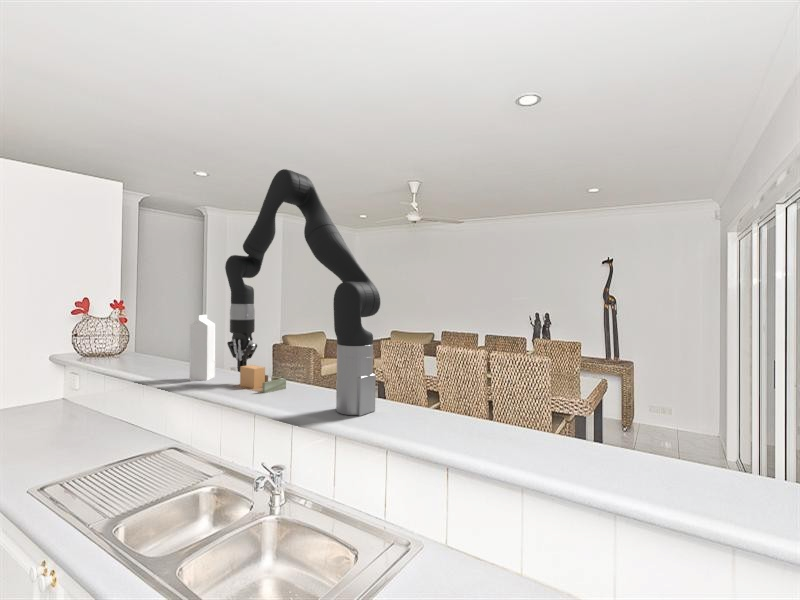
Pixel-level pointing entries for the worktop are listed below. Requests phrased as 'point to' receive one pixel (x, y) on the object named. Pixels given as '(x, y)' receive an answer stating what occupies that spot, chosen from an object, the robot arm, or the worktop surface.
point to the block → (252, 376)
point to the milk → (202, 349)
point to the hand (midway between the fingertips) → (241, 371)
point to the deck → (268, 385)
